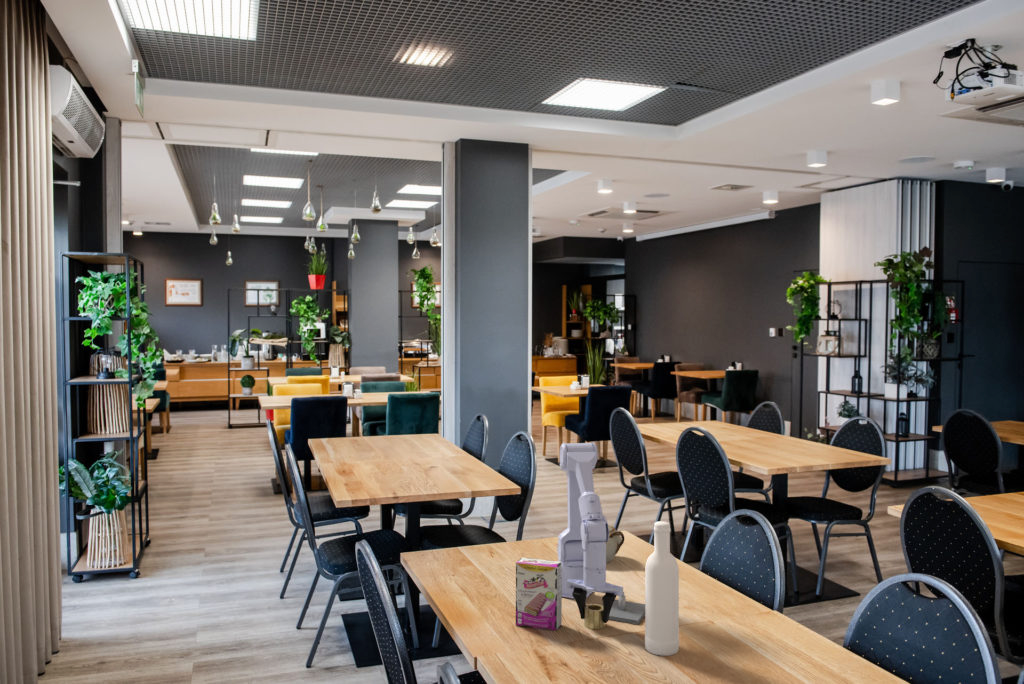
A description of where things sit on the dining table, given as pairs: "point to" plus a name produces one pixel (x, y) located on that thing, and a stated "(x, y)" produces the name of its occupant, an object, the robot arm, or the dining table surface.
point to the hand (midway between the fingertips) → (594, 619)
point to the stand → (626, 611)
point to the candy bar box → (538, 593)
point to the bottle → (662, 595)
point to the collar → (594, 616)
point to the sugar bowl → (613, 543)
